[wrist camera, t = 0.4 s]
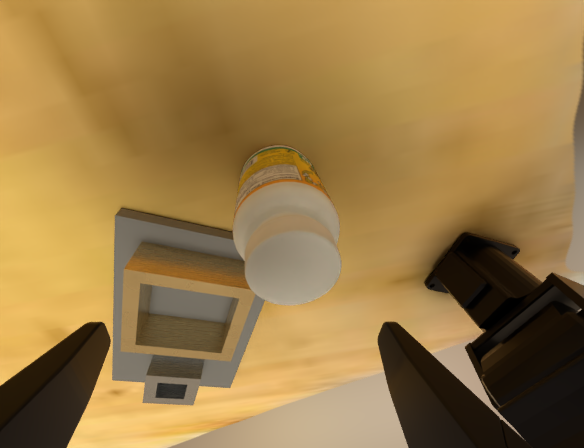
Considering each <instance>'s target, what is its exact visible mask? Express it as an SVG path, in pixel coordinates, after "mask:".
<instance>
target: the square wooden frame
mask: <svg viewBox="0 0 584 448" xmlns="http://www.w3.org/2000/svg"><path fill="white" fill-rule="evenodd" d="M152 285H155V286H161V287H168V288H174V289H181V290H187V291H194V292H200V293H207V294H213V295H220V296H226V297H233V300H232V303H231V306H230V309H229V313H228V316H227V319H226V322H225V323H221V322H213V321H206V320H198V319H190V318H182V317H174V316H166V315H159V314H151V313H149V310H150V301H151V292H152ZM254 297H255V293H254V292H253V291H252V290H251V289H250V287H249V285H248V283H247V281H246V278H245V261H242V260H237V259H231V258H226V257H221V256H216V255H210V254H205V253H200V252H195V251H190V250H184V249H179V248H174V247H169V246H163V245H158V244H153V243H148V242H141V243H140V245H139V246H138V248H137V249H136V251H135V252H134V254H133V256H132V257H131V259H130V260H129V262H128V263H127V265H126V266H125V268H124V274H123V300H122V326H121V352H132V353H143V354H154V355H165V356H176V357H187V358H197V359H208V360H219V361H230V362H231V360H232V357H233V354H234V351H235V349H236V346H237V343H238V341H239V338H240V335H241V332H242V330H243V327H244V324H245V322H246V319H247V316H248V313H249V311H250V308H251V305H252V303H253V300H254Z"/></svg>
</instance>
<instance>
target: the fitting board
mask: <svg viewBox="0 0 584 448" xmlns="http://www.w3.org/2000/svg"><path fill="white" fill-rule="evenodd" d="M141 242H148V243H153V244H158V245H163V246H169V247H174V248H179V249H184V250H190V251H195V252H200V253H205V254H210V255H216V256H221V257H226V258H231V259H237V260H242V261H244V260H243V258H242V257H241V256H240V254H239V253H238V251H237V249H236V246H235V243H234V239H233V232H229V231H224V230H220V229H215V228H210V227H206V226H201V225H197V224H192V223H187V222H183V221H178V220H173V219H169V218H164V217H160V216H155V215H150V214H146V213H141V212H137V211H132V210H127V209H123V208H121V209H120V210H119V212H118V213H117V214H116V215H115V248H114V310H113V372H112V380H116V381H132V382H145V379H146V374H147V371H148V368H149V366H150V363H151V360H152V357H153V355H154V354H143V353H132V352H121V326H122V300H123V274H124V268H125V266H126V265H127V263H128V262H129V260H130V259H131V257H132V256H133V254H134V252H135V251H136V249H137V248H138V246H139V245H140V243H141ZM232 300H233V297H226V296H220V295H213V294H207V293H200V292H194V291H187V290H181V289H174V288H168V287H161V286H155V285H152V292H151V301H150V310H149V313H151V314H159V315H166V316H174V317H182V318H190V319H198V320H206V321H213V322H221V323H225V322H226V319H227V316H228V313H229V309H230V306H231V303H232ZM264 301H265V300H264V299H262V298H260V297H259V296H257V295H256V294H255V297H254V300H253V303H252V305H251V308H250V311H249V313H248V316H247V319H246V322H245V324H244V327H243V330H242V332H241V335H240V338H239V341H238V343H237V346H236V349H235V351H234V354H233V357H232V360H231V362H230V361H219V360H208V359H205V360H204V365H203V371H202V376H201V381H200V384H199V386H208V387H223V388H230V387H231V384H232V382H233V379H234V377H235V374H236V372H237V369H238V367H239V364H240V362H241V359H242V357H243V354H244V351H245V349H246V346H247V344H248V341H249V339H250V336H251V334H252V331H253V329H254V326H255V324H256V321H257V319H258V316H259V314H260V311H261V309H262V306H263V304H264Z"/></svg>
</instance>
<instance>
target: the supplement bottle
mask: <svg viewBox="0 0 584 448" xmlns="http://www.w3.org/2000/svg"><path fill="white" fill-rule="evenodd" d="M339 233H340V223H339V217H338V214H337V211H336V209H335V207H334V205H333V203H332V201H331V199H330V197H329V195H328V194H327V192H326V190H325V188H324V186H323V184H322V182H321V180H320V179H319V177H318V175H317V173H316V171H315V169H314V167H313V165H312V164H311V162H310V161H309V160H308V159H307V158H306V157H305V156H304V155H303V154H302V153H300V152H299V151H297V150H296V149H294V148H291V147H288V146H283V145H275V146H269V147H266V148H263V149H261V150H259V151H257V152H256V153H254V154H253V155H252V156H251V157H250V158H249V159H248V160H247V162H246V163H245V165H244V167H243V169H242V171H241V175H240V180H239V186H238V194H237V201H236V207H235V214H234V221H233V239H234V243H235V246H236V249H237V251H238V253H239V254H240V256H241V257H242V258H243V260H244V261H245V278H246V281H247V283H248V285H249V287H250V289H251V290H252V291H253V292H254V293H255V294H256V295H257V296H259V297H260V298H262V299H264V300H266V301H268V302H271V303H274V304H279V305H299V304H304V303H307V302H310V301H313V300H315V299H317V298H319V297H321V296H322V295H324V294H326V293H327V292H328V291H329V290H330V289H331V288H332V287H333V286H334V284H335V283H336V281H337V280H338V278H339V275H340V272H341V257H340V254H339V251H338V248H337V242H338V238H339Z"/></svg>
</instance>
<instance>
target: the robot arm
mask: <svg viewBox="0 0 584 448" xmlns="http://www.w3.org/2000/svg"><path fill="white" fill-rule="evenodd" d="M519 252H520V249H519V248H517V247H516V246H514V245H510V244H507V243H503V242H500V241H496V240H492V239H489V238H485V237H482V236H478V235H475V234H471V233H464V234H463V235H461V237H460V238H459V239H458V240H457V242H456V243H455V244H454V246H453V247H452V248H451V250H450V251H449V252H448V253H447V255H446V256H445V257H444V259H443V260H442V261H441V263H440V264H439V265H438V267H437V268H436V269H435V270H434V272H433V273H432V274H431V276H430V277H429V278H428V280H427V281H426V282H425V286H426V287H427V288H428V289H429V290H434V291H439V292H444V293H450V294H451V295H452V297H453V298H454V299H455V300H456V301H457V303H458V304H459V305H460V306H461V307H462V308H463V309H464V310H465V311H466V313H467V314H468V315H469V316H470V317H471V319H472V320H473V321H474V322H475V323H476V325H477V326H478V327H479V328H480V329H481V330H482V331H483V332H484V333H483V334H481V335H480V336H479V337H478V338H477V339H476V340H475V341H473V342H472V343H469V344H468V345H467V346H465V349H466V351H467V353H468V356H469V358H470V360H471V362H472V364H473V366H474V368H475V370H476V372H477V375H478V377H479V379H480V381H481V383H482V385H483V387H484V389H485V392H486V393H487V395H488V397H489V399H490V401H491V404H492V405H493V406H494V408H495V409H496V410H498V412H499V413H500V414H501V415H502V416H503V417H504V418H505V419H506V420H507V421H508V422H509V423H510V424H511V425H512V426H513V427H514V428H515V429H516V430H517V432H518V433H519V434H520V435H521V436H522V437H523V438H524V439H523V438H521V437H520V436H519V435H518V434H517V433H516V432H515V431H514V430H513V429H511V427H509V426H508V425H507V424H506V423H505V422H504V421H503V420H500V418H499V416H497V415H496V414H495V413H494V412H493V411H492V410H491V409H490V408H489V407H488V406H487V405H486V404H484V403H483V402H482V401H481V400H480V399H479V398H478V397H477V396H476V395H475V394H474V393H473V392H472V391H470V390H469V389H468V388H467V387H466V386H465V385H464V384H463V383H462V382H461V381H460V380H459V379H457V378H456V377H455V376H454V375H453V374H452V373H451V372H450V371H449V370H448V369H446V367H445V366H444V365H442V364H441V363H440V362H439V361H438V360H437V359H436V358H435V357H434V356H433V355H432V354H431V353H430V352H428V351H427V350H426V349H425V348H424V347H423V346H422V345H421V344H420V343H419V342H418V341H417V340H415V339H414V338H413V337H412V336H411V335H410V334H409V333H408V332H407V331H406V330H405V329H404V328H403V327H401V326H400V325H399V324H398V323H397V322H384V323H383V325H382V328H381V330H380V333H379V335H378V346H379V350H380V354H381V359H382V363H383V367H384V371H385V375H386V380H387V384H388V388H389V391H390V394H391V398H392V401H393V403H394V406H395V409H396V412H397V415H398V418H399V421H400V424H401V427H402V430H403V433H404V436H405V439H406V441H407V444H408V447H409V448H584V285H581V284H579V283H577V282H574V281H572V280H569V279H567V278H565V277H562V276H560V275H557V274H555V273H553V272H552V273H551V274H550V275H548V276H547V277H546V280H545V281H544V282H541V281H540V280H539V279H537V278H536V277H535V276H533V275H532V274H531V273H530V272H528V271H527V270H526V269H524V268H523V267H522V266H520V265H519V264H518V263H517V262H515V261H514V260H513V259H514V258H515V257H516V255H517V254H518V253H519ZM579 309H582V310H581V311H578V310H579ZM110 342H111V341H110V336H109V334H108V331H107V329H106V326H105V324H104V323H103V322H88V323H86V324H84V325H83V326H82V327H80V328H79V329H78V330H76V331H75V332H73V333H72V334H71V335H69V336H68V337H67V338H65V339H64V340H62V341H61V342H60V343H58V344H57V345H56V346H54V347H53V348H52V349H50V350H49V351H47V352H46V353H45V354H43V355H42V356H41V357H39V358H38V359H36V360H35V361H34V362H32V363H31V364H30V365H28V366H27V367H25V368H24V369H23V370H21V371H20V372H19V373H17V374H16V375H15V376H13V377H12V378H10V379H9V380H8V381H6V382H5V383H4V384H2V385H1V386H0V448H67V445H68V443H69V441H70V439H71V437H72V435H73V433H74V431H75V429H76V427H77V425H78V423H79V421H80V419H81V417H82V415H83V413H84V411H85V409H86V406H87V404H88V402H89V400H90V398H91V395H92V393H93V390H94V387H95V385H96V382H97V379H98V377H99V374H100V371H101V369H102V366H103V363H104V361H105V358H106V355H107V353H108V350H109V347H110Z"/></svg>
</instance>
